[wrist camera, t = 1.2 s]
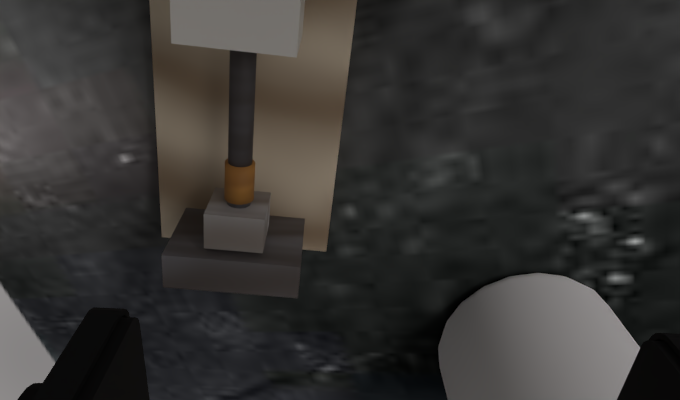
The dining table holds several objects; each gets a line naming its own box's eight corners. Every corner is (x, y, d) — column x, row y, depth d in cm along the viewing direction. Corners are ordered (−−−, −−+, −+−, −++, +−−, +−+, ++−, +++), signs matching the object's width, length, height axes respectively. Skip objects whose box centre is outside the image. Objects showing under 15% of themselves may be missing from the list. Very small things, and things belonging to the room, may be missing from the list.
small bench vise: (151, -156, 23) (93, -185, 17) (370, -125, 24) (383, -144, 18) (168, 224, 32) (133, 288, 27) (326, 238, 33) (325, 303, 27)
